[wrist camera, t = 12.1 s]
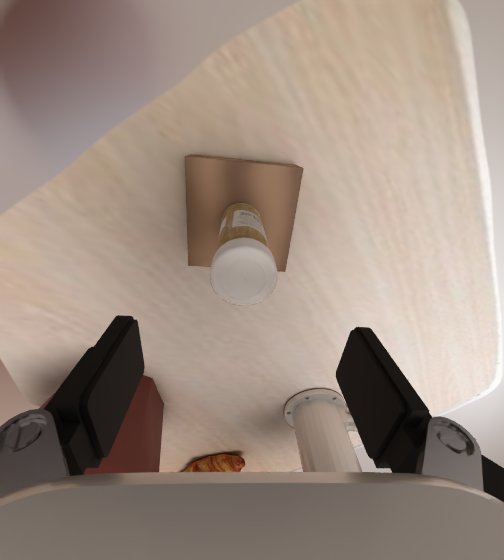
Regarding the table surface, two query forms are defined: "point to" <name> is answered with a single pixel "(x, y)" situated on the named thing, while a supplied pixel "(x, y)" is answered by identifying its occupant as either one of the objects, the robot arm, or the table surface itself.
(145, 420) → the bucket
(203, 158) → the walnut plinth
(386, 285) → the table surface
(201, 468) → the croissant
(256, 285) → the sprinkles bottle
